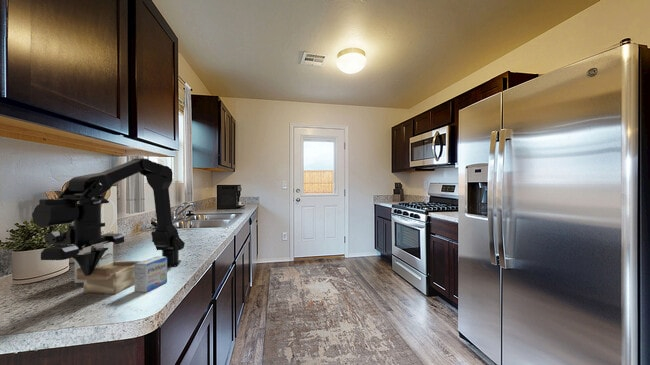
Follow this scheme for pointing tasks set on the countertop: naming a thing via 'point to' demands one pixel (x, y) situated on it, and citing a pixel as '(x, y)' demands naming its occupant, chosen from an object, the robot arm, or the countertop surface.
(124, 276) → the birch box
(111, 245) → the supplement box
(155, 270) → the medicine box
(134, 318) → the countertop surface
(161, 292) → the countertop surface
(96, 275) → the lid
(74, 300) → the countertop surface
